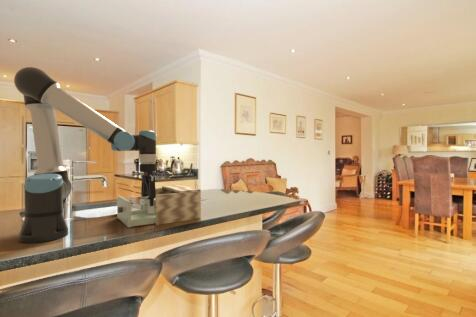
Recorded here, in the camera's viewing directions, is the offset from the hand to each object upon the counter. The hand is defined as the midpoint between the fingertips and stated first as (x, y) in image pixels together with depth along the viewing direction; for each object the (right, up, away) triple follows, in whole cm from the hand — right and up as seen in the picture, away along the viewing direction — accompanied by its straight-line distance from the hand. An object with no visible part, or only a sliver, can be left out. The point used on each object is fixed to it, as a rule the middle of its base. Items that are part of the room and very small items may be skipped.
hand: (148, 211), depth 129 cm
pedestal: (-17, -4, +14) cm, 22 cm away
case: (+8, -4, +6) cm, 11 cm away
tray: (-2, -4, -1) cm, 4 cm away
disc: (0, +4, 0) cm, 4 cm away
